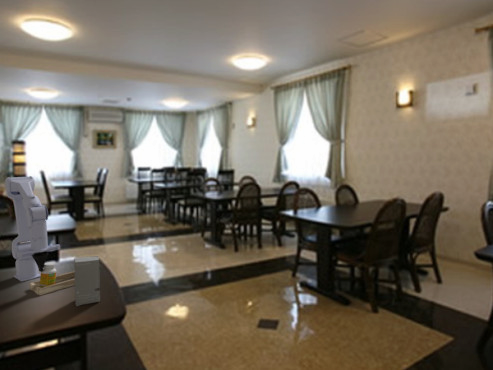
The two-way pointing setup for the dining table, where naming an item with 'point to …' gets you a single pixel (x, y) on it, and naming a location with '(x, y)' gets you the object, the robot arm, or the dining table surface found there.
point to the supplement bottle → (48, 275)
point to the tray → (40, 291)
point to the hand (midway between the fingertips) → (41, 271)
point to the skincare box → (87, 280)
